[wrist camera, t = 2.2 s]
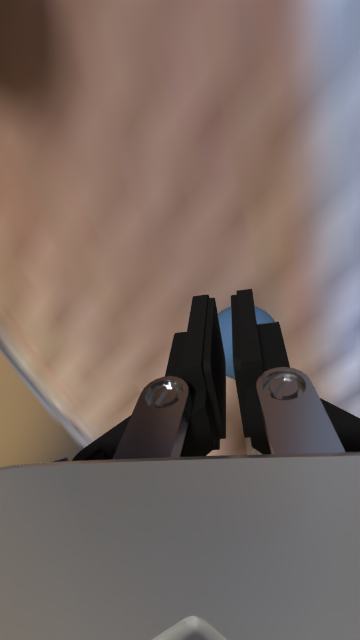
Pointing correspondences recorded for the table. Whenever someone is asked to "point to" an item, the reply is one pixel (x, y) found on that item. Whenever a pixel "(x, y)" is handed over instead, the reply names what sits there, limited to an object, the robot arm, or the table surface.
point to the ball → (226, 334)
